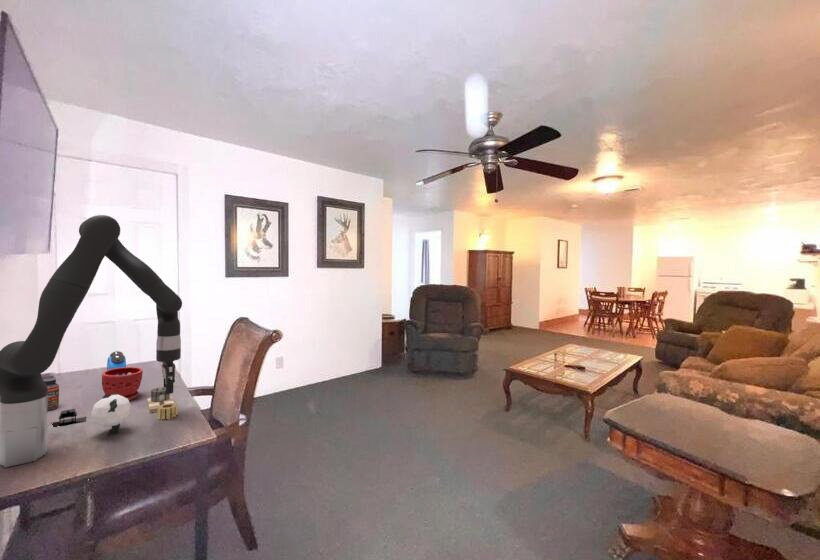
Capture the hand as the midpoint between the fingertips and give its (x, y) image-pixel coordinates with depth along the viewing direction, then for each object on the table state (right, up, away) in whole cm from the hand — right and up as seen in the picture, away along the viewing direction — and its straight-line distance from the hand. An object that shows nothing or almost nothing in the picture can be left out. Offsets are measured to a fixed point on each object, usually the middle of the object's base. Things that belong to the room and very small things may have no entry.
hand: (168, 390), depth 132 cm
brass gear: (0, -10, 0) cm, 10 cm away
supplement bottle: (-48, -8, +3) cm, 48 cm away
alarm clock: (-45, -8, +31) cm, 56 cm away
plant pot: (-29, -9, +15) cm, 34 cm away
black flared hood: (-30, -10, -8) cm, 32 cm away
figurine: (-10, -10, -14) cm, 20 cm away
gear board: (-10, -9, +10) cm, 17 cm away
